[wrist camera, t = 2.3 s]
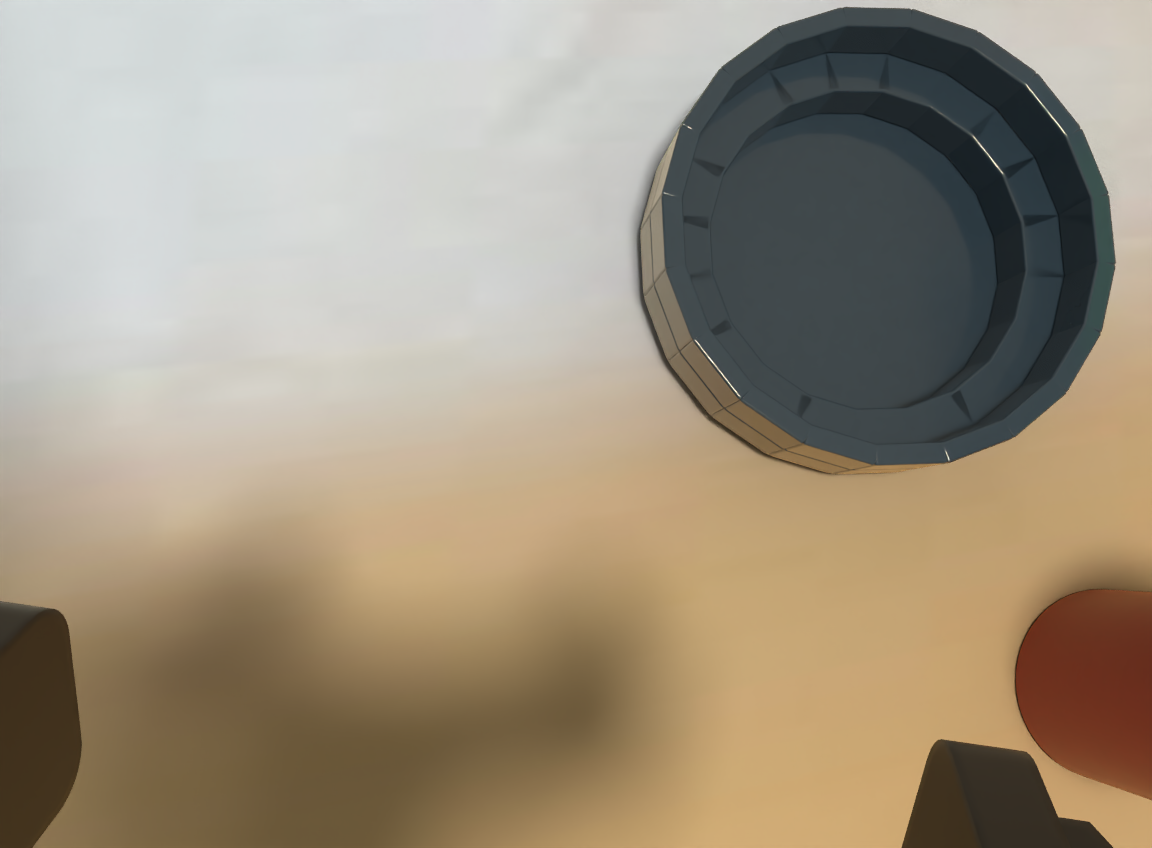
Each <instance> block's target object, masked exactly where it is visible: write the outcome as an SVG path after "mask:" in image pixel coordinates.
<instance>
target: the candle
mask: <svg viewBox="0 0 1152 848" xmlns="http://www.w3.org/2000/svg"><path fill="white" fill-rule="evenodd" d="M1016 690H1017V697H1018V702H1019V707H1020V710H1021V713H1022V716H1023V719H1024V721H1025V723H1026V725H1027V727H1028V730H1029V731H1030V733H1031V734H1032V736H1033V738H1034V739H1035V741H1036V742H1037V743H1038V744H1039V746H1040V747H1041V748H1042V749H1043V751H1044V752H1046V753H1047V754H1048V755H1049V756H1050V757H1051V758H1052V759H1053V760H1054V761H1056V762H1057V763H1058V764H1060V765H1061V766H1063V767H1065V768H1066V769H1068V770H1070V771H1072V772H1074V773H1077V774H1079V775H1082V776H1085V777H1087V778H1090V779H1093V780H1096V781H1099V782H1102V783H1105V784H1107V785H1110V786H1113V787H1116V788H1119V789H1122V790H1125V791H1127V792H1130V793H1133V794H1136V795H1139V796H1142V797H1145V798H1147V799H1150V800H1152V592H1143V591H1125V590H1107V589H1095V590H1086V591H1080V592H1077V593H1074V594H1071V595H1068V596H1066V597H1064V598H1062V599H1060V600H1059V601H1057V602H1056V603H1054V604H1053V605H1051V606H1050V607H1049V608H1048V609H1046V610H1045V611H1044V612H1043V613H1042V614H1041V615H1040V616H1039V618H1038V619H1037V620H1036V621H1035V622H1034V624H1033V625H1032V627H1031V628H1030V630H1029V632H1028V633H1027V635H1026V637H1025V640H1024V642H1023V644H1022V647H1021V650H1020V653H1019V657H1018V662H1017V668H1016Z"/></svg>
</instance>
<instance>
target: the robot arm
mask: <svg viewBox="0 0 1152 848" xmlns="http://www.w3.org/2000/svg"><path fill="white" fill-rule="evenodd" d="M81 747H82V741H81V730H80V721H79V713H78V704H77V696H76V687H75V678H74V670H73V661H72V653H71V644H70V636H69V629H68V625H67V622H66V619H65V618H64V616H63V614H61V613H60V612H59V611H58V610H55V609H50V608H43V607H36V606H30V605H23V604H16V603H9V602H2V601H0V848H32V847H33V846H34V845H35V843H36V842H37V841H38V839H39V838H40V837H41V835H42V834H43V833H44V831H45V830H46V829H47V827H48V826H49V825H50V823H51V822H52V821H53V819H54V818H55V817H56V815H57V814H58V813H59V811H60V810H61V808H62V807H63V805H64V803H65V802H66V800H67V798H68V796H69V794H70V791H71V789H72V787H73V784H74V781H75V779H76V775H77V772H78V768H79V763H80V757H81ZM902 848H1113V847H1112V846H1111V845H1110V844H1109V842H1108V841H1107V840H1106V839H1105V838H1104V837H1103V836H1102V835H1101V834H1100V833H1099V832H1098V831H1097V830H1096V828H1095V827H1094V826H1093V825H1092V824H1091V823H1090V822H1086V821H1080V820H1073V819H1066V818H1059V817H1058V816H1057V814H1056V811H1055V809H1054V806H1053V804H1052V802H1051V799H1050V797H1049V794H1048V792H1047V790H1046V787H1045V785H1044V782H1043V780H1042V778H1041V775H1040V773H1039V770H1038V768H1037V766H1036V764H1035V762H1034V760H1033V758H1032V757H1031V756H1030V755H1029V754H1028V753H1027V752H1024V751H1018V750H1011V749H1004V748H997V747H991V746H984V745H977V744H970V743H963V742H956V741H949V740H942V739H941V740H938V741H937V742H935V743H934V745H933V746H932V748H931V750H930V753H929V755H928V758H927V761H926V765H925V768H924V772H923V775H922V779H921V782H920V786H919V789H918V793H917V796H916V800H915V803H914V807H913V810H912V814H911V817H910V820H909V824H908V827H907V831H906V834H905V838H904V841H903V845H902Z"/></svg>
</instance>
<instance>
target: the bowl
mask: <svg viewBox="0 0 1152 848" xmlns="http://www.w3.org/2000/svg"><path fill="white" fill-rule="evenodd" d="M1035 73H1036V72H1035V71H1034V70H1033V69H1031V68H1030V67H1029V66H1027V65H1026V64H1024V63H1023V62H1022V61H1020V60H1019V59H1017V58H1016V57H1014V56H1013V55H1012V54H1010V53H1009V52H1007V51H1006V50H1005V49H1003V48H1002V47H1000V46H999V45H997V44H996V43H995V42H993V41H992V40H990V39H989V38H988V37H986V36H985V35H983V34H982V33H980V32H978V31H977V30H974V29H971V28H968V27H965V26H962V25H959V24H956V23H953V22H950V21H947V20H944V19H941V18H938V17H935V16H932V15H929V14H926V13H923V12H920V11H917V10H915V9H912V10H911V9H904V8H860V7H844V8H838V9H834V10H831V11H828V12H824V13H821V14H818V15H815V16H811V17H808V18H805V19H802V20H798V21H795V22H792V23H788V24H785V25H782V26H779V27H777V28H775V29H773V30H771V31H770V32H769V33H767V34H766V35H765V36H763V37H762V38H760V39H759V40H758V41H756V42H755V43H754V44H752V45H751V46H749V47H748V48H747V49H745V50H744V51H743V52H741V53H740V54H738V55H737V56H736V57H734V58H733V59H732V60H730V61H729V62H727V63H726V64H725V65H723V66H722V67H721V69H719V70H718V72H717V73H716V74H715V76H714V77H713V79H712V80H711V82H710V83H709V85H708V86H707V87H706V89H705V90H704V92H703V93H702V95H701V96H700V98H699V99H698V100H697V102H696V103H695V105H694V106H693V108H692V109H691V111H690V112H689V113H688V115H687V116H686V118H685V119H684V121H683V122H682V124H681V126H680V127H679V129H678V131H677V133H676V135H675V136H674V138H673V140H672V142H671V144H670V146H669V148H668V149H667V151H666V153H665V155H664V157H663V159H662V160H661V162H660V164H659V166H658V168H657V171H656V174H655V178H654V181H653V185H652V188H651V192H650V196H649V199H648V203H647V206H646V210H645V213H644V217H643V221H642V224H641V228H640V230H641V232H640V238H641V259H642V280H643V295H644V296H645V297H644V300H645V303H646V305H647V308H648V311H649V313H650V316H651V319H652V321H653V324H654V327H655V329H656V332H657V335H658V337H659V340H660V343H661V345H662V348H663V351H664V353H665V356H666V359H667V360H669V364H670V365H671V366H672V368H673V369H674V370H675V371H676V373H677V374H678V375H679V377H680V378H681V379H682V380H683V382H684V383H685V384H686V385H687V387H688V388H689V389H690V391H691V392H692V393H693V394H694V396H695V397H696V398H697V399H698V401H699V402H700V403H701V405H702V406H703V407H704V408H705V410H706V411H707V412H708V414H710V415H712V417H713V418H714V419H716V420H717V421H718V422H720V423H721V424H723V425H724V426H726V427H727V428H729V429H730V430H732V431H733V432H735V433H736V434H737V435H739V436H740V437H742V438H743V439H745V440H746V441H748V442H749V443H751V444H752V445H753V446H755V447H756V448H758V449H759V450H761V451H762V452H764V453H765V454H769V455H770V456H772V457H776V458H779V459H782V460H786V461H789V462H793V463H796V464H799V465H803V466H806V467H809V468H813V469H816V470H819V471H823V472H826V473H833V474H861V473H892V472H901V471H906V470H912V469H917V468H923V467H929V466H935V465H940V464H945V463H950V462H953V461H955V460H958V459H961V458H963V457H966V456H968V455H971V454H974V453H976V452H979V451H981V450H984V449H987V448H989V447H992V446H995V445H997V444H1000V443H1002V442H1005V441H1008V440H1010V439H1012V438H1013V437H1016V436H1017V435H1018V434H1019V433H1020V432H1022V431H1023V430H1024V429H1025V428H1026V427H1027V426H1029V425H1030V424H1031V423H1032V422H1033V421H1035V420H1036V419H1037V418H1038V417H1039V416H1040V415H1042V414H1043V413H1044V412H1045V411H1046V410H1047V409H1049V408H1050V407H1051V406H1052V405H1053V404H1054V403H1056V402H1057V401H1058V400H1059V399H1060V398H1061V397H1063V396H1064V395H1065V394H1066V392H1067V391H1068V389H1069V388H1070V386H1071V384H1072V382H1073V381H1074V379H1075V377H1076V376H1077V374H1078V372H1079V370H1080V369H1081V367H1082V365H1083V364H1084V362H1085V360H1086V358H1087V357H1088V355H1089V353H1090V352H1091V350H1092V348H1093V346H1094V345H1095V343H1096V341H1097V340H1098V338H1099V336H1100V334H1101V331H1102V328H1103V323H1104V319H1105V314H1106V309H1107V304H1108V299H1109V295H1110V290H1111V285H1112V280H1113V276H1114V271H1115V263H1116V261H1115V251H1114V241H1113V231H1112V221H1111V211H1110V201H1109V195H1108V191H1107V188H1106V186H1105V183H1104V181H1103V179H1102V176H1101V174H1100V171H1099V169H1098V166H1097V164H1096V162H1095V159H1094V157H1093V154H1092V152H1091V149H1090V147H1089V145H1088V142H1087V140H1086V137H1085V135H1084V132H1083V130H1082V129H1080V126H1079V124H1078V123H1077V122H1076V121H1075V119H1074V118H1073V117H1072V116H1071V114H1070V113H1069V112H1068V111H1067V109H1066V108H1065V107H1064V106H1063V104H1062V103H1061V102H1060V101H1059V99H1058V98H1057V97H1056V96H1055V94H1054V93H1053V92H1052V91H1051V89H1050V88H1049V87H1048V86H1047V84H1046V83H1045V82H1044V81H1043V79H1042V78H1041V77H1040V76H1039V74H1035Z"/></svg>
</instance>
